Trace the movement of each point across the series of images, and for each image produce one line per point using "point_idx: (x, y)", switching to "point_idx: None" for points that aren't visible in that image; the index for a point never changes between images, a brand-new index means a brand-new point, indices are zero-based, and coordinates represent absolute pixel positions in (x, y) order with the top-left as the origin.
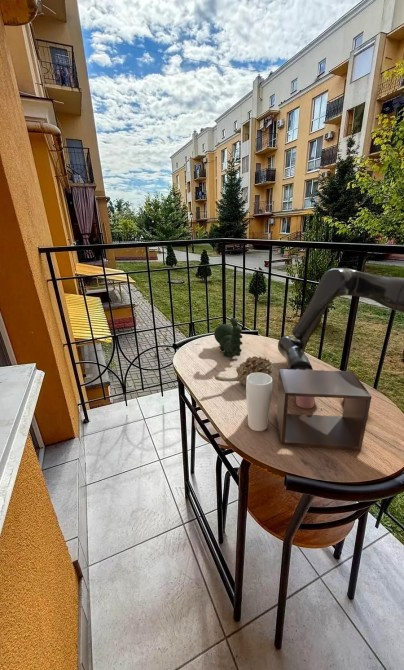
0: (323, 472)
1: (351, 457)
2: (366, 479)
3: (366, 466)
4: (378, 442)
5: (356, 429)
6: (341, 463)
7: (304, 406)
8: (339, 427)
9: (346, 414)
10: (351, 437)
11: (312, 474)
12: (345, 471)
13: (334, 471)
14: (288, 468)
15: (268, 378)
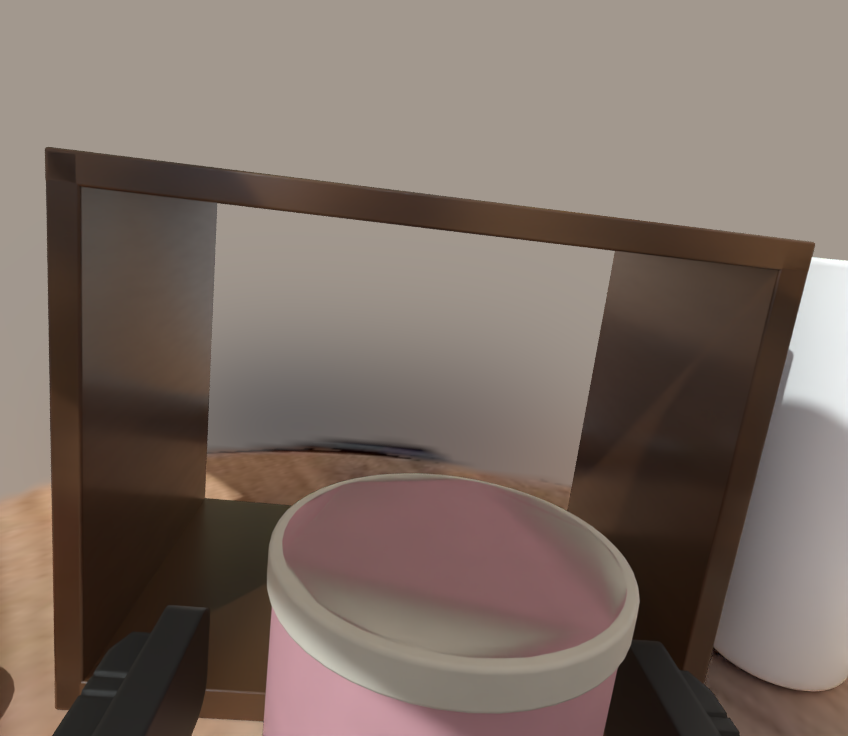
0: (406, 472)
1: (261, 499)
2: (266, 453)
3: (227, 476)
4: (29, 544)
5: (191, 452)
6: (322, 487)
7: None
8: (210, 587)
9: (121, 553)
10: (192, 533)
11: (446, 471)
12: (324, 470)
13: (365, 472)
14: (529, 485)
15: (831, 290)
